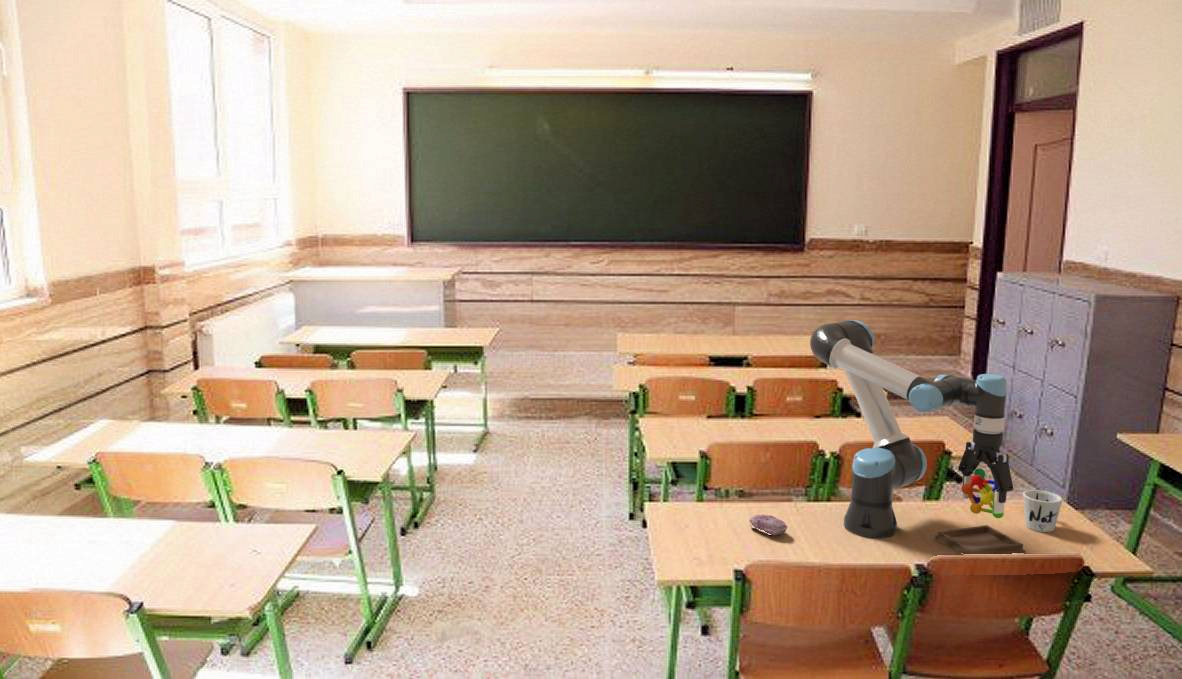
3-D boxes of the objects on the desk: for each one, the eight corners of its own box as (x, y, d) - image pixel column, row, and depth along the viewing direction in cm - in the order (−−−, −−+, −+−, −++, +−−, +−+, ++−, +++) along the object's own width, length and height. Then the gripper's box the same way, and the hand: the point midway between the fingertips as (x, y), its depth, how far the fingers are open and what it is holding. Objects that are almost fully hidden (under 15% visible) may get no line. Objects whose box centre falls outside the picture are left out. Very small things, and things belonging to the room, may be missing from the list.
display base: (934, 538, 241) (935, 530, 240) (983, 531, 245) (984, 523, 245) (973, 561, 225) (974, 553, 225) (1025, 554, 230) (1025, 545, 229)
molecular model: (1007, 519, 228) (1009, 479, 227) (983, 521, 227) (985, 480, 225) (981, 505, 239) (983, 466, 238) (958, 506, 238) (960, 468, 237)
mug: (1023, 532, 245) (1026, 500, 243) (1014, 513, 259) (1016, 483, 257) (1063, 536, 242) (1066, 503, 240) (1051, 517, 256) (1054, 486, 254)
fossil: (773, 543, 239) (773, 526, 238) (741, 526, 251) (741, 510, 250) (794, 536, 243) (794, 520, 242) (762, 520, 255) (762, 504, 254)
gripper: (947, 420, 240) (943, 492, 243) (1009, 443, 217) (1002, 522, 221) (969, 418, 242) (964, 489, 245) (1032, 441, 219) (1026, 519, 223)
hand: (982, 505), depth 233 cm, fingers closed on molecular model, 11 cm apart
